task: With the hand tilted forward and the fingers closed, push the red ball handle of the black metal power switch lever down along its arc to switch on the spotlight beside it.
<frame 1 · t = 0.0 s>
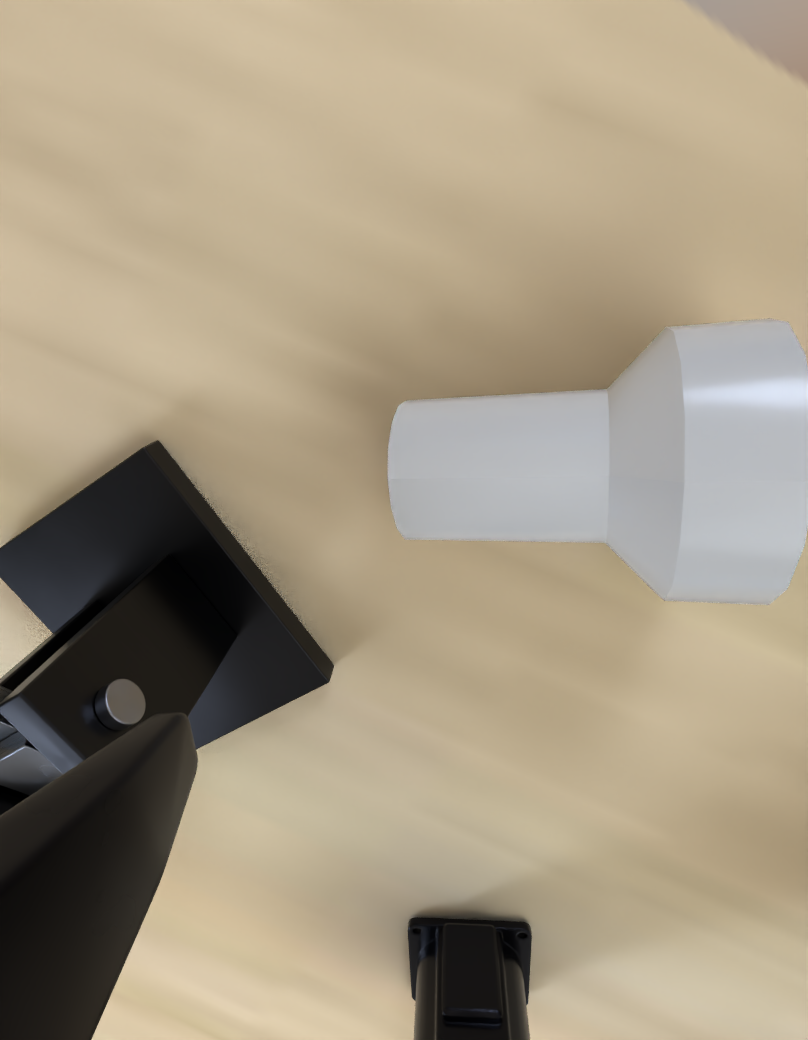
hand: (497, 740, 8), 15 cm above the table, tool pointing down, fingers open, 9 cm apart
switch bracket: (172, 607, 25), on the table
spotlight: (574, 440, 21), on the table
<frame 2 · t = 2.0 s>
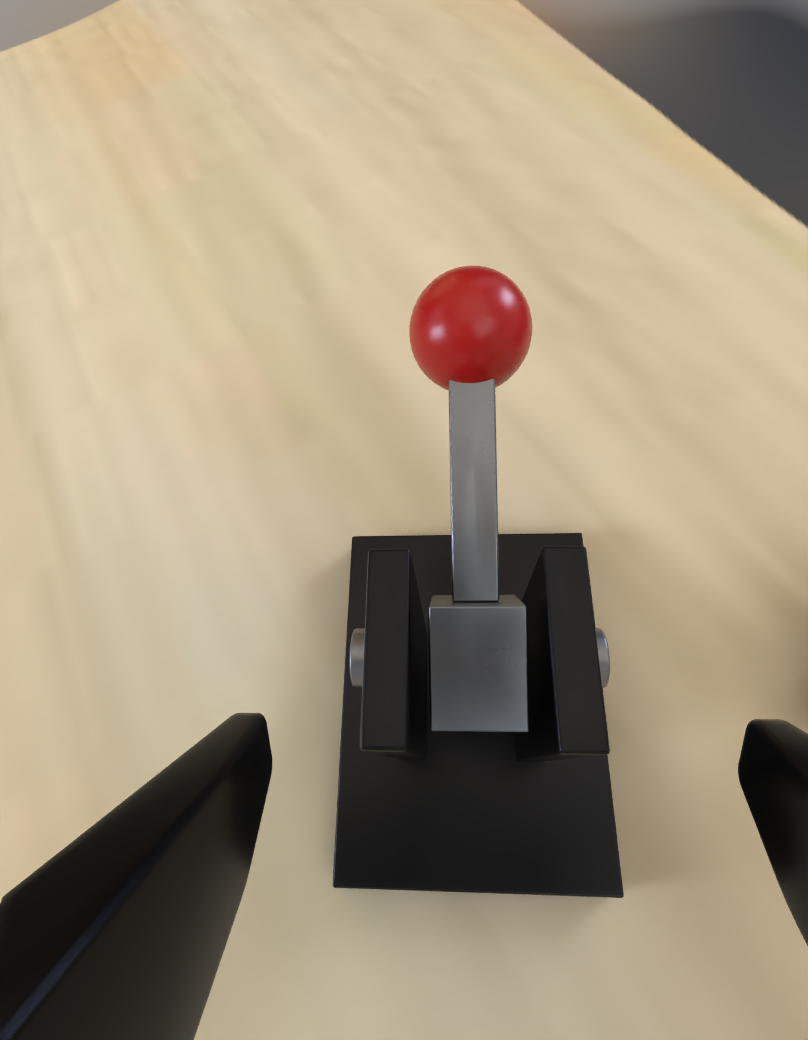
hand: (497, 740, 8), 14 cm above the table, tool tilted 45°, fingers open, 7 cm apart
switch bracket: (468, 696, 21), on the table
switch lever: (473, 491, 14), point 10 cm above the table, hinge at 22.0°
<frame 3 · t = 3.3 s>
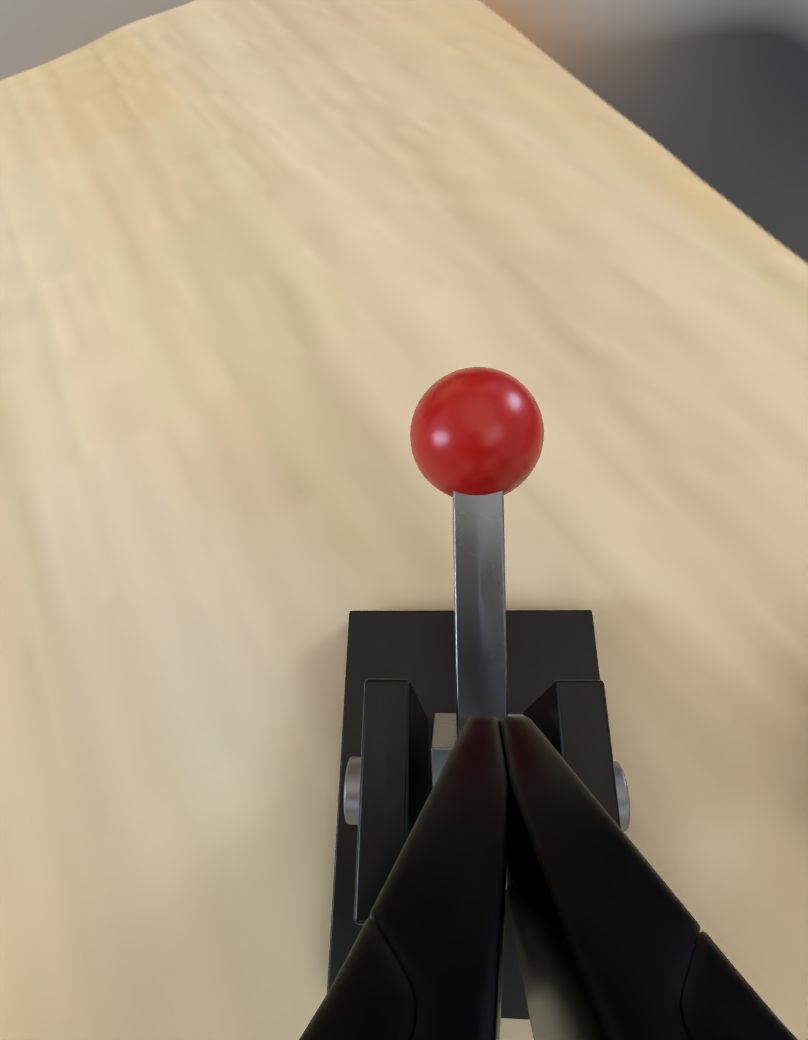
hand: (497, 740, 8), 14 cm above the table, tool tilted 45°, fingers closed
switch bracket: (472, 787, 20), on the table
switch lever: (479, 609, 13), point 10 cm above the table, hinge at 22.0°
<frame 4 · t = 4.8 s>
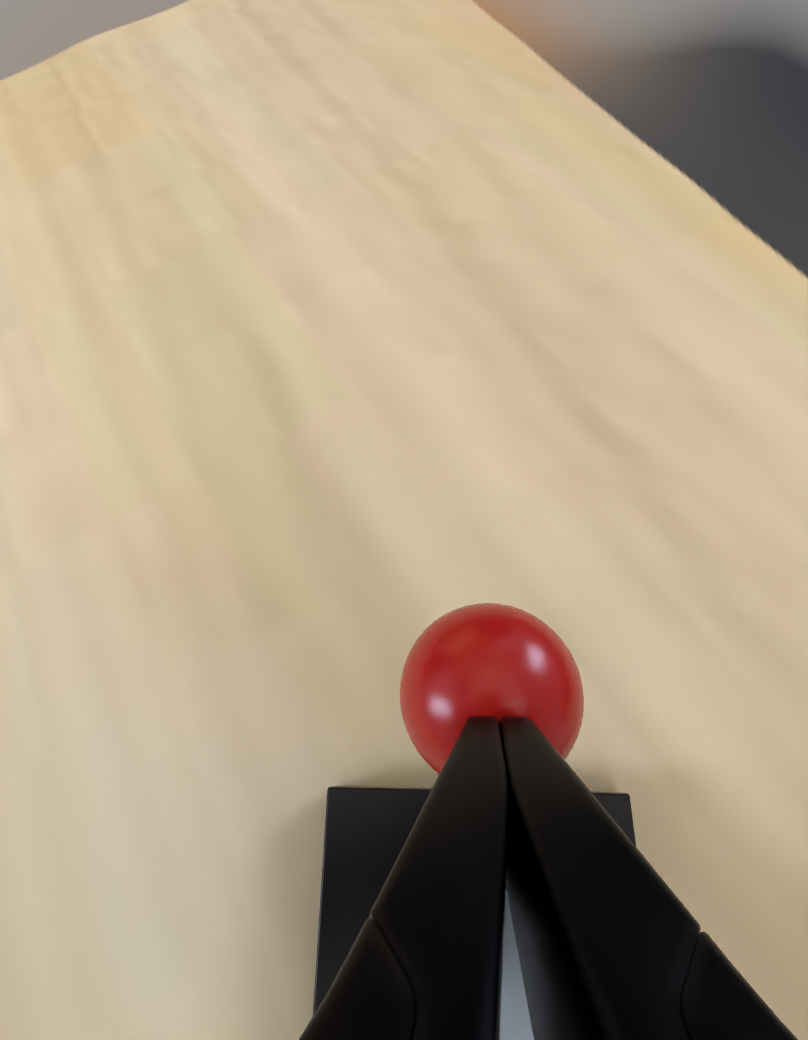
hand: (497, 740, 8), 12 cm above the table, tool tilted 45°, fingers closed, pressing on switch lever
switch bracket: (480, 1028, 16), on the table
switch lever: (495, 950, 9), point 9 cm above the table, hinge at 16.5°, touching gripper
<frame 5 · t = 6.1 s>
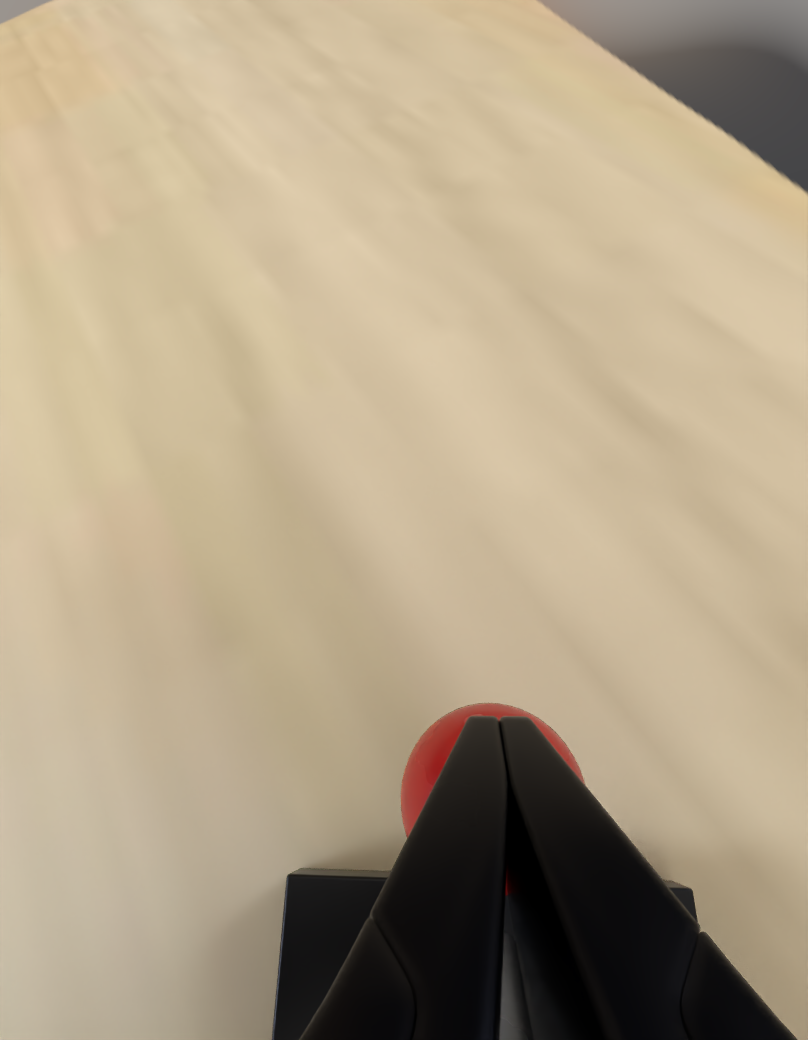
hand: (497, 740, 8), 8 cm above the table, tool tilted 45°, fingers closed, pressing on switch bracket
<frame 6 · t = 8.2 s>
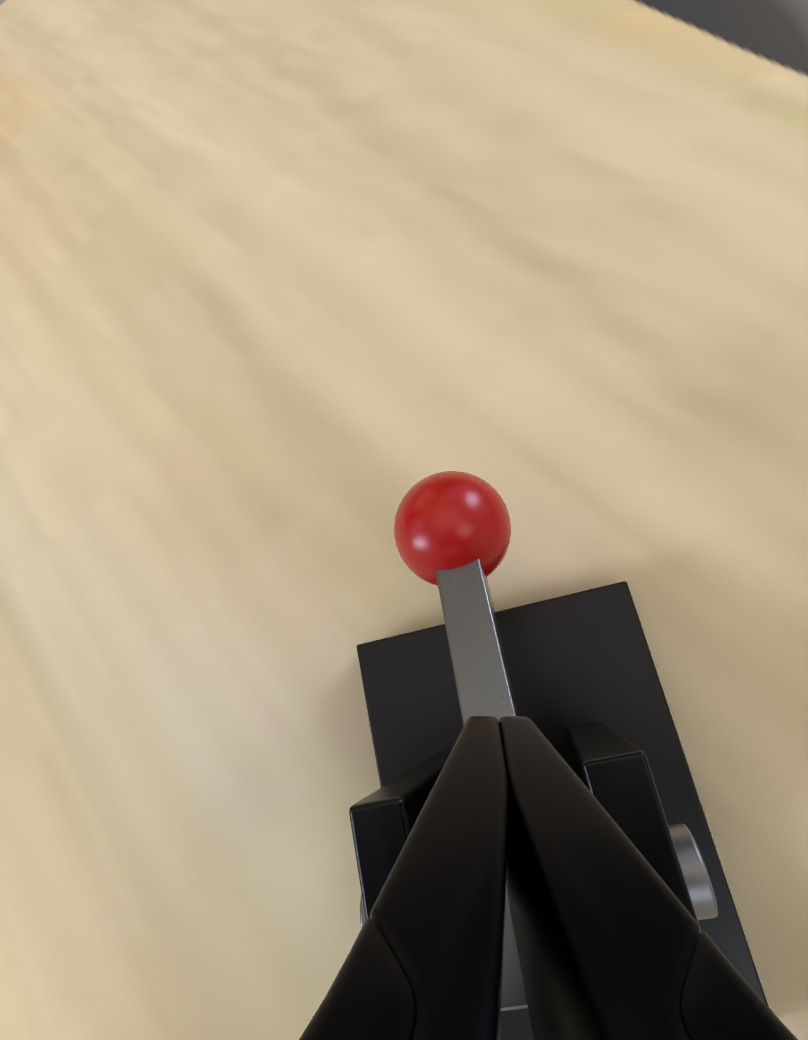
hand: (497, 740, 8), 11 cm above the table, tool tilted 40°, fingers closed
switch bracket: (536, 807, 18), on the table
switch lever: (483, 677, 13), point 7 cm above the table, hinge at -16.0°
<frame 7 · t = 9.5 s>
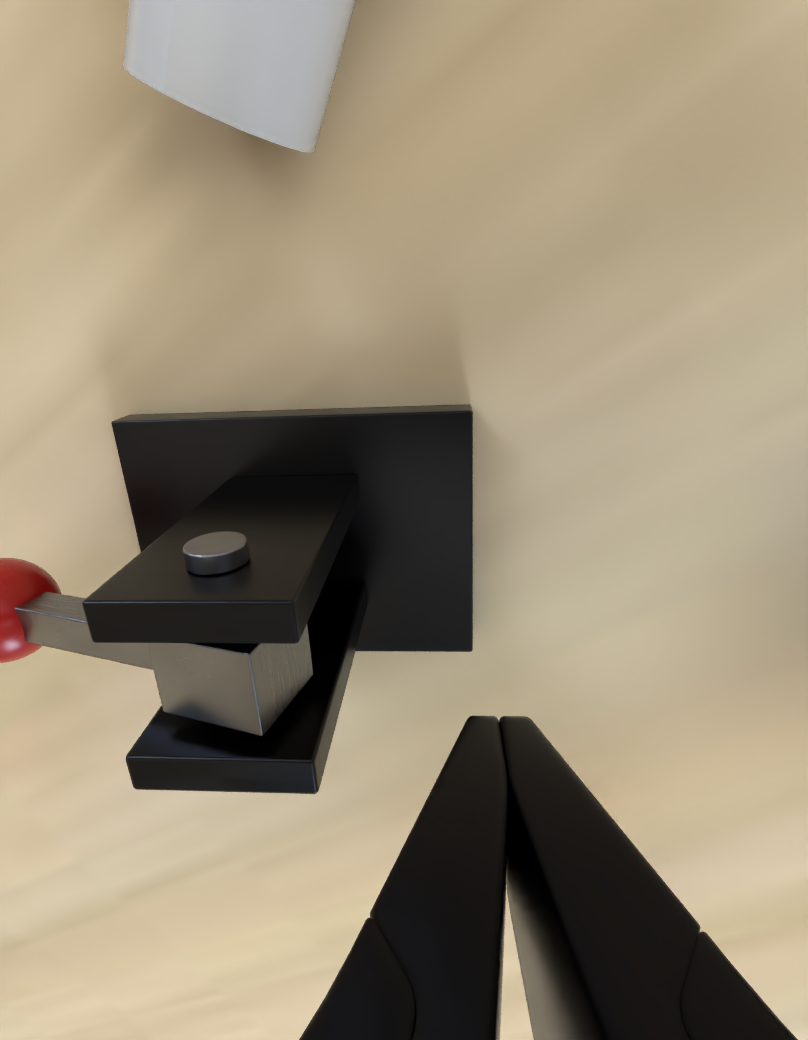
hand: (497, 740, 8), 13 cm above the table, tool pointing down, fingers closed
switch bracket: (309, 530, 21), on the table
switch lever: (107, 630, 15), point 7 cm above the table, hinge at -16.0°
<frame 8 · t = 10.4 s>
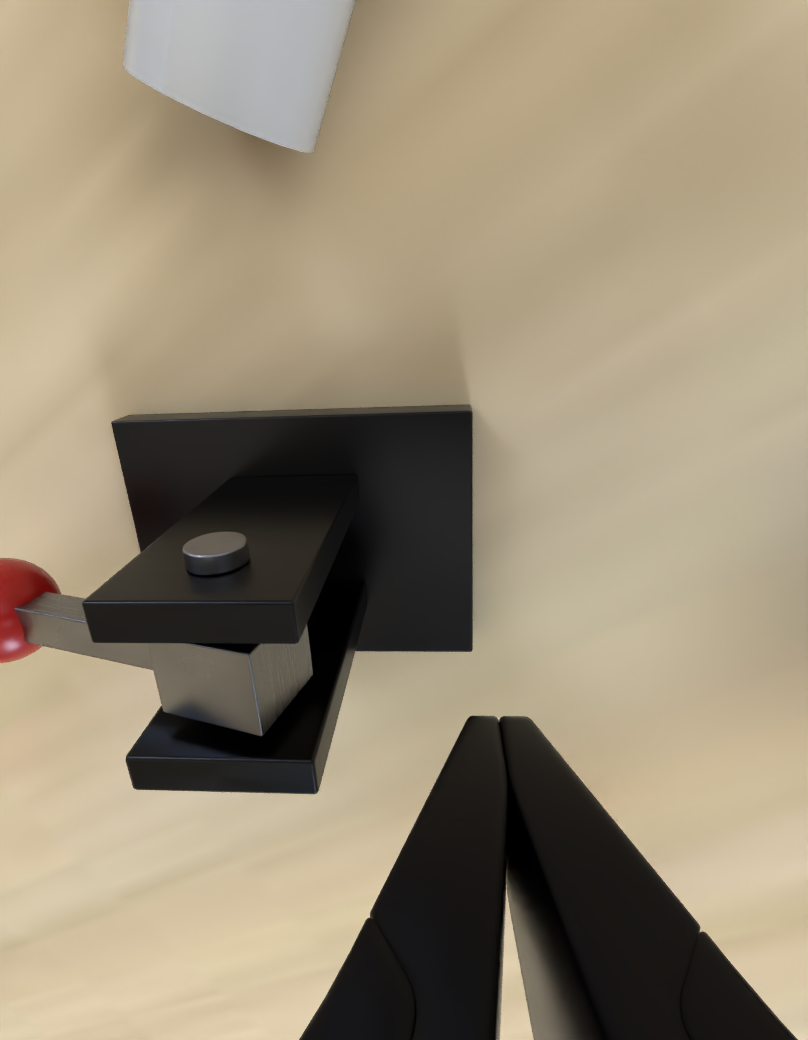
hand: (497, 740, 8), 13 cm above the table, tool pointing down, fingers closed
switch bracket: (309, 530, 21), on the table
switch lever: (107, 630, 15), point 7 cm above the table, hinge at -16.0°
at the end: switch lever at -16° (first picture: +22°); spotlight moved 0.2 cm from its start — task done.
